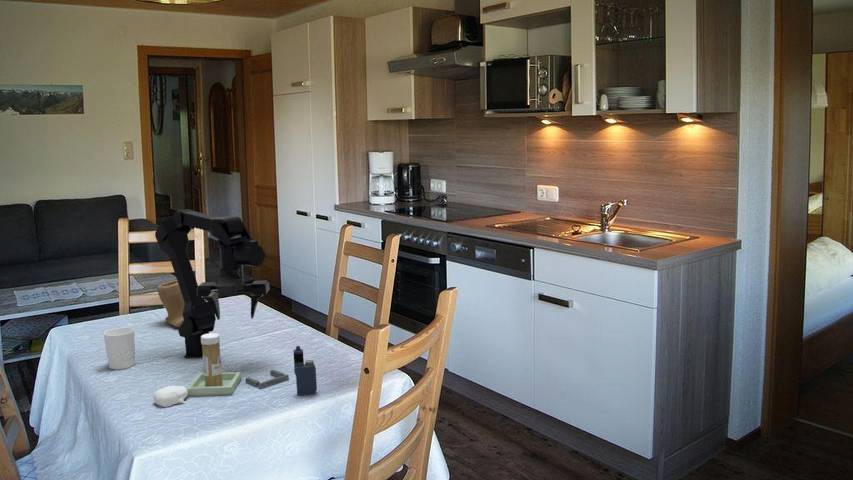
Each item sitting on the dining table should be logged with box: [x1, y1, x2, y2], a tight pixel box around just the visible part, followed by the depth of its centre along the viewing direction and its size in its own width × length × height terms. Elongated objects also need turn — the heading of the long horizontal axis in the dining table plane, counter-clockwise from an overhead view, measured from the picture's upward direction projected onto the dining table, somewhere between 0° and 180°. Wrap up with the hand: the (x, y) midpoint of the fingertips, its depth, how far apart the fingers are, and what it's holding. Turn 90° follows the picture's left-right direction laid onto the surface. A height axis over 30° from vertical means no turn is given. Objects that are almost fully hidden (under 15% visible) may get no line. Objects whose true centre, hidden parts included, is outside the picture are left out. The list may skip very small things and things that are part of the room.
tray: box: [186, 371, 242, 397], centre depth 188 cm, size 11×11×2 cm
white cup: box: [103, 327, 136, 370], centre depth 206 cm, size 8×8×10 cm
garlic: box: [152, 385, 188, 408], centre depth 179 cm, size 8×7×4 cm
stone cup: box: [156, 279, 185, 328], centre depth 246 cm, size 15×12×15 cm
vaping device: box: [292, 345, 318, 396], centre depth 181 cm, size 3×5×12 cm, turn 95°
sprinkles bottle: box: [201, 332, 223, 387], centre depth 187 cm, size 5×5×13 cm
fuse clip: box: [245, 369, 290, 390], centre depth 191 cm, size 7×9×1 cm
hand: (235, 318), depth 203 cm, fingers open, 9 cm apart
